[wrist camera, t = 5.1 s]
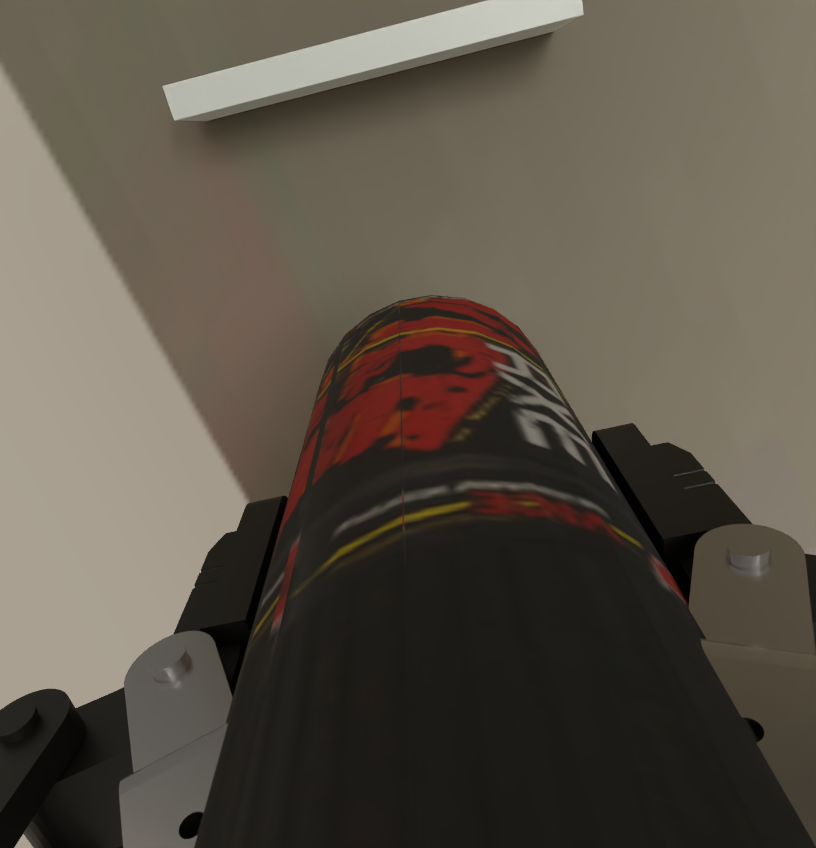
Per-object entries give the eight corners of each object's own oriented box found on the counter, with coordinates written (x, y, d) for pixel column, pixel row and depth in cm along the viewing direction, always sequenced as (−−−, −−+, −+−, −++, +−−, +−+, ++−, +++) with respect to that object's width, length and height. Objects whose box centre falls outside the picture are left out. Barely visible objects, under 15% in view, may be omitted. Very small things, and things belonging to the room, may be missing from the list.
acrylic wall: (196, 91, 24) (162, 85, 21) (550, -1, 23) (579, -24, 20) (206, 121, 25) (174, 120, 21) (554, 31, 24) (583, 14, 20)
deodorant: (581, 323, 16) (1585, 1454, 3) (511, 525, 19) (832, 1658, 5) (340, 270, 15) (-52, 1402, 2) (301, 486, 18) (4, 1661, 4)
